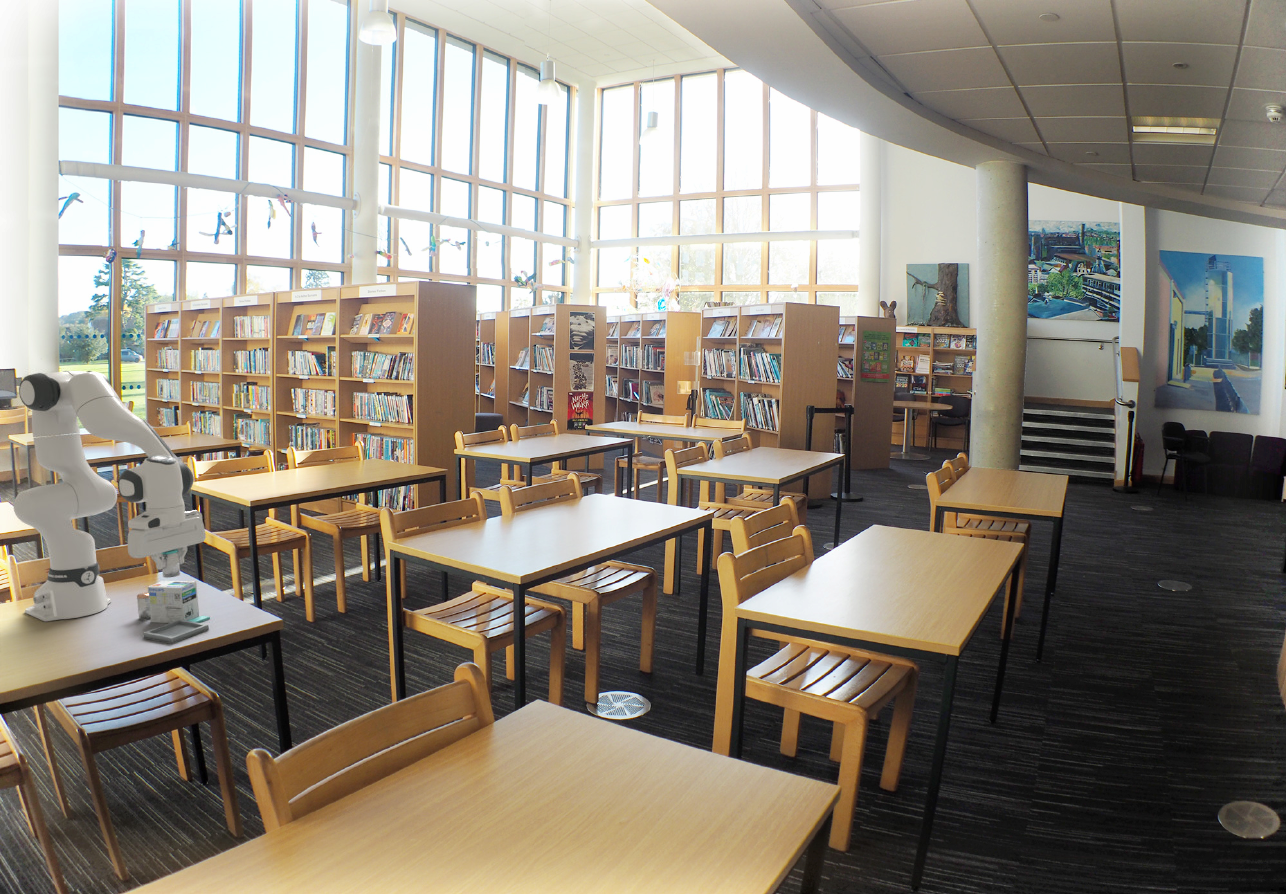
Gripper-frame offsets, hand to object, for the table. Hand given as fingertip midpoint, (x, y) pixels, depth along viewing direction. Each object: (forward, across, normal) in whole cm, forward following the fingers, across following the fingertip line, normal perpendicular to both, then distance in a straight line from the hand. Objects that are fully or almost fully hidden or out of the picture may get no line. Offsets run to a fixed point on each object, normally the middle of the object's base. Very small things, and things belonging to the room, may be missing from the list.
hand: (170, 566), depth 213 cm
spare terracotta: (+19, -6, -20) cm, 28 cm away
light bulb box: (+20, -8, -11) cm, 24 cm away
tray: (+19, 0, 0) cm, 19 cm away
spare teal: (+3, 0, 0) cm, 3 cm away
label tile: (+19, -10, -4) cm, 22 cm away
